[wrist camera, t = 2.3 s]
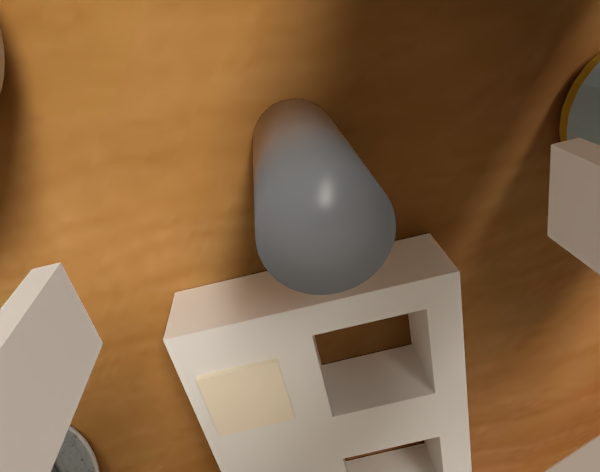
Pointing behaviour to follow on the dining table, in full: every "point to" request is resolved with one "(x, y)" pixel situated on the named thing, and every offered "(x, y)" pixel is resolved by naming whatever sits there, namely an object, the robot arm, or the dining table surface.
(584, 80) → the bottle
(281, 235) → the plug
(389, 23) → the dining table surface
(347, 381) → the socket block
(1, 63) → the teacup
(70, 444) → the ceramic mug
